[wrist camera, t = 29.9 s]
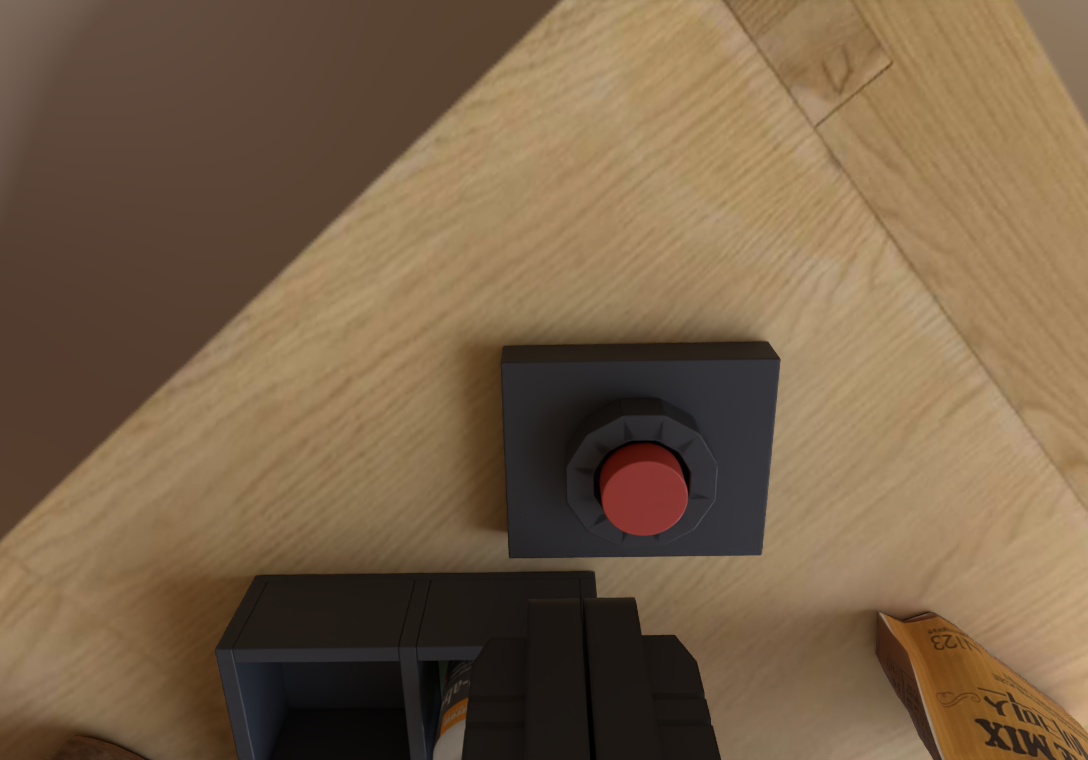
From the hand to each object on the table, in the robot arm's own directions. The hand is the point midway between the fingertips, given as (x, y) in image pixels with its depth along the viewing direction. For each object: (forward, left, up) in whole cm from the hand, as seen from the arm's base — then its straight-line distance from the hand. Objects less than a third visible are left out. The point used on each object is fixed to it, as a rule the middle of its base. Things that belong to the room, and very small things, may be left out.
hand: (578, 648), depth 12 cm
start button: (+3, -10, -22) cm, 25 cm away
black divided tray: (-7, -26, -26) cm, 37 cm away
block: (+3, -10, -26) cm, 28 cm away
